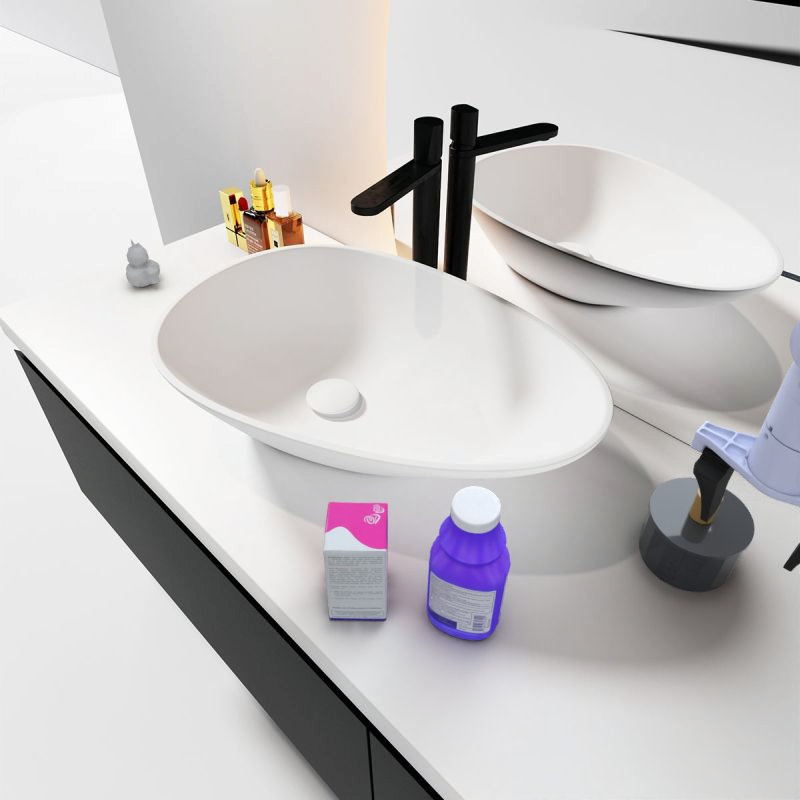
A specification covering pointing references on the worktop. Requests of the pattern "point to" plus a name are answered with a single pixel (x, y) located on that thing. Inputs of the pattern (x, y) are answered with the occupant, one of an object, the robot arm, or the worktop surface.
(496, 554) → the bottle
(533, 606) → the worktop surface
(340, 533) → the supplement box
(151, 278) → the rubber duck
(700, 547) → the lid
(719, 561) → the pot
